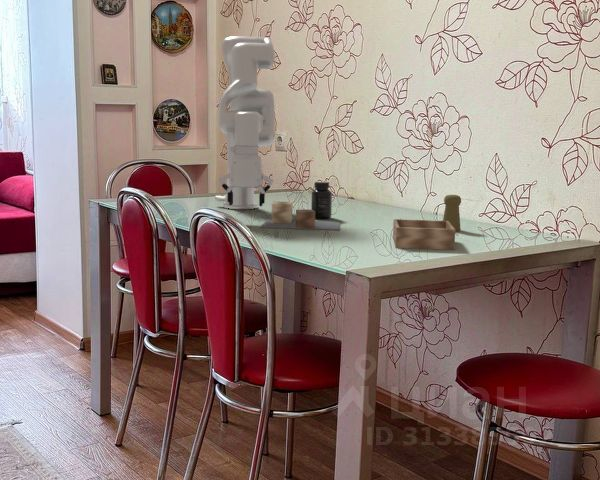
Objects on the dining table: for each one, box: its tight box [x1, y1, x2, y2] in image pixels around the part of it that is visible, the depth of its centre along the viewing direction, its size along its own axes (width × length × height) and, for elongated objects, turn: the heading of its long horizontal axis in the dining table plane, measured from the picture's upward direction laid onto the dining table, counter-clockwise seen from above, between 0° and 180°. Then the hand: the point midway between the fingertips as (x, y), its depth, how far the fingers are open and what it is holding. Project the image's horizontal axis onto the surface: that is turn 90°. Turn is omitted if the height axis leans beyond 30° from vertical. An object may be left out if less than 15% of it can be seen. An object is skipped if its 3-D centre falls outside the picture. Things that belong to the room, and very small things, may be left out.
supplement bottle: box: [310, 181, 333, 220], centre depth 259 cm, size 7×7×12 cm
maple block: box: [271, 200, 293, 223], centre depth 248 cm, size 6×6×6 cm
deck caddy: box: [392, 218, 456, 251], centre depth 216 cm, size 16×16×6 cm
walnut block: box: [295, 209, 316, 228], centre depth 238 cm, size 5×5×5 cm
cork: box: [442, 194, 462, 233], centre depth 240 cm, size 6×6×11 cm
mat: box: [259, 218, 341, 231], centre depth 244 cm, size 24×16×1 cm, turn 86°
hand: (246, 205), depth 248 cm, fingers open, 9 cm apart
